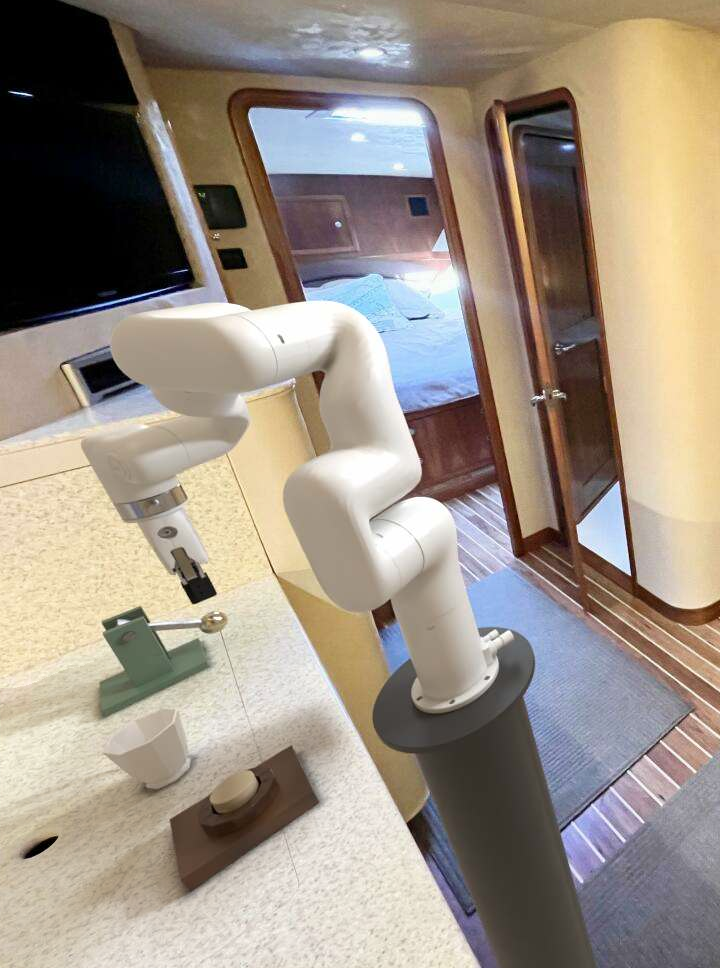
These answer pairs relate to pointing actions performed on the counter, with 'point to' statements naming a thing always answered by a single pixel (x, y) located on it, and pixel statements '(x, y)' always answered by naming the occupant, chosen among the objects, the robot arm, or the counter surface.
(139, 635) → the bracket
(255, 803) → the button box
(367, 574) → the robot arm
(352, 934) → the counter surface
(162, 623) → the lever
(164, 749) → the cup
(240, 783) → the button
